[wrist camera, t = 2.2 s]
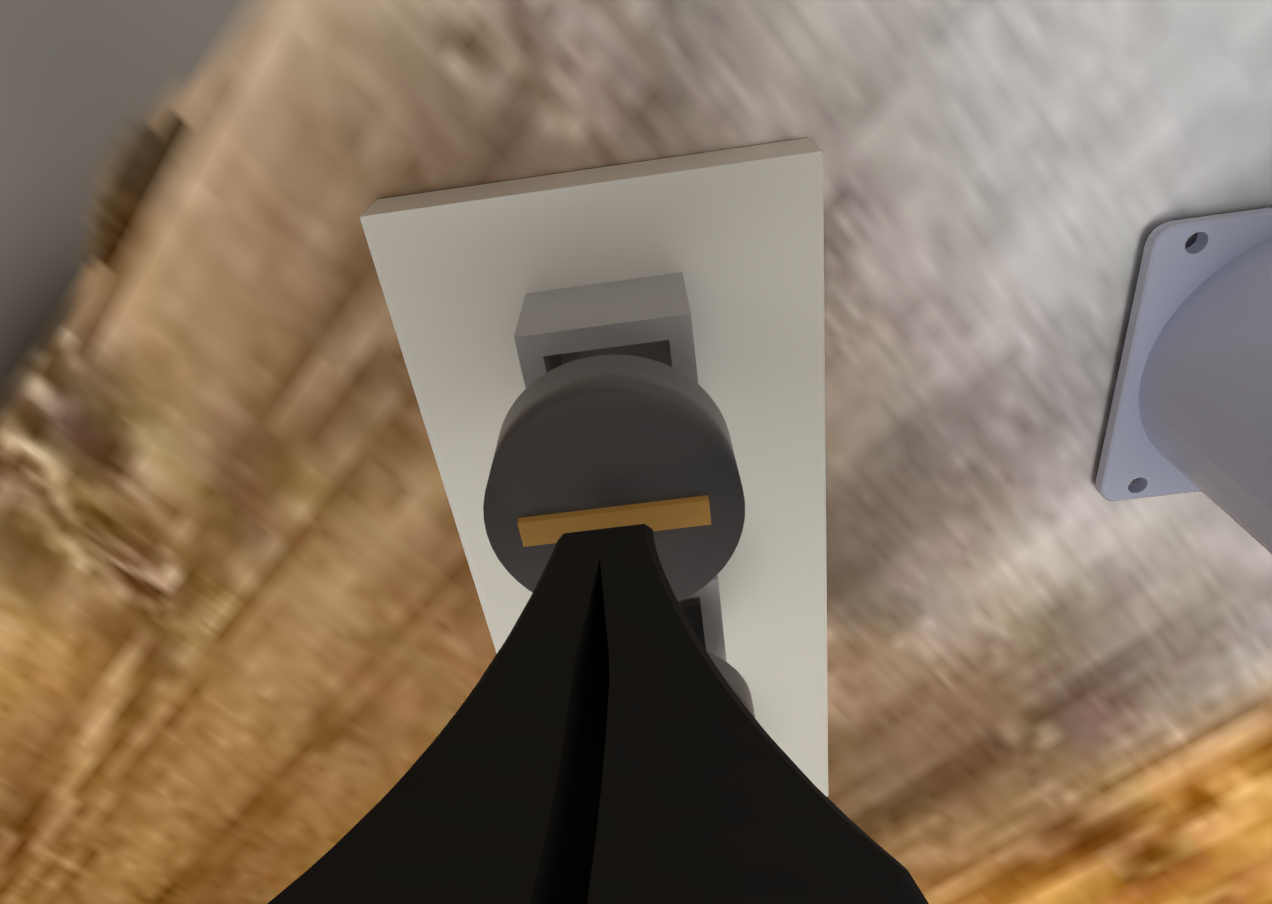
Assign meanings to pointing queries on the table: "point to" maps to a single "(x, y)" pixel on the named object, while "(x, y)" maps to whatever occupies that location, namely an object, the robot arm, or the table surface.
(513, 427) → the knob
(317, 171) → the table surface
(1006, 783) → the table surface
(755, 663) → the knob mount
